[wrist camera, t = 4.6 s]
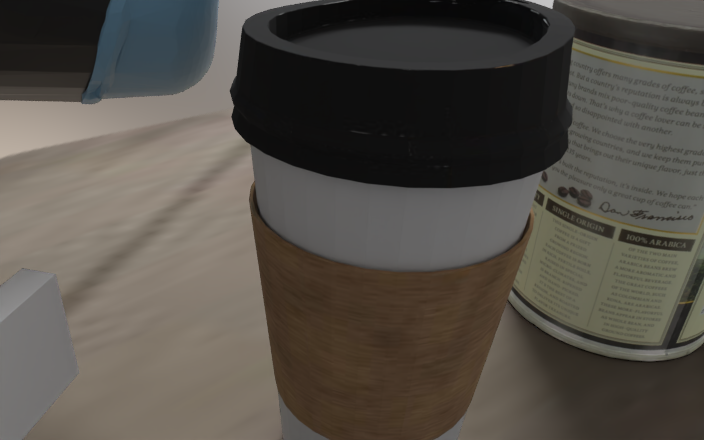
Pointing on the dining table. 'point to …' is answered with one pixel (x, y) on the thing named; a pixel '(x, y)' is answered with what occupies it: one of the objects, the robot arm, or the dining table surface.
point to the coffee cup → (394, 197)
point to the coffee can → (624, 188)
